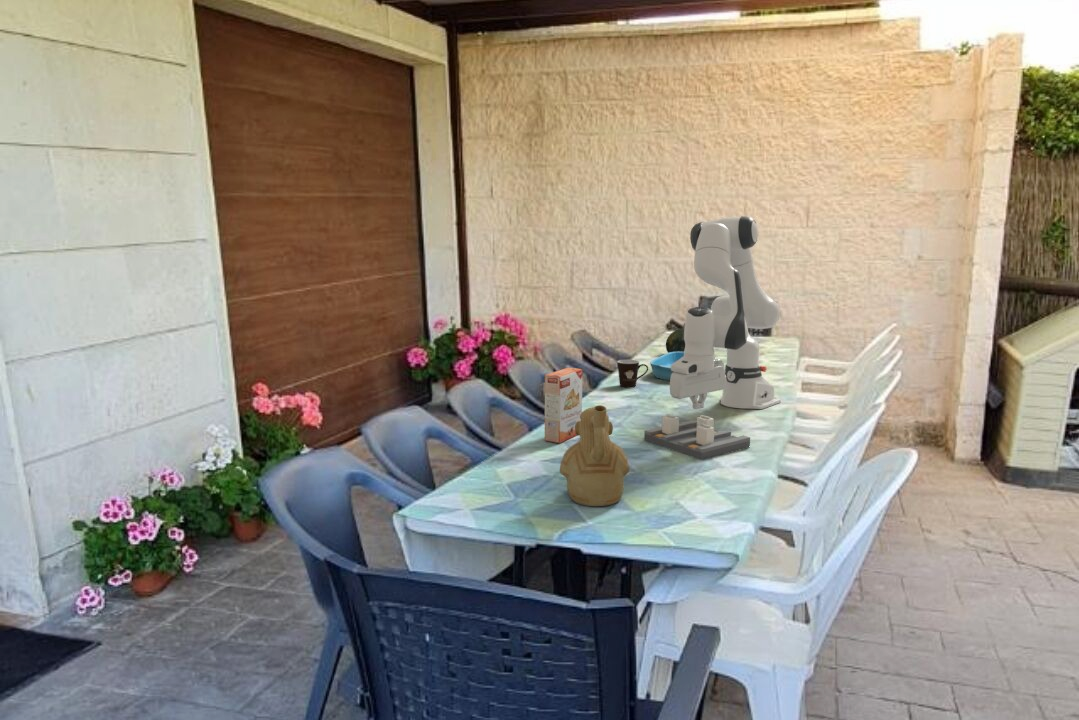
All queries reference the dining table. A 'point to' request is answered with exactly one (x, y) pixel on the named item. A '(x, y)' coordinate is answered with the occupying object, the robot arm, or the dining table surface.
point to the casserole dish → (665, 364)
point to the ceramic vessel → (594, 461)
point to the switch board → (687, 441)
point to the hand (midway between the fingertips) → (698, 408)
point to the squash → (675, 341)
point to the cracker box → (562, 404)
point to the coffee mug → (629, 372)
